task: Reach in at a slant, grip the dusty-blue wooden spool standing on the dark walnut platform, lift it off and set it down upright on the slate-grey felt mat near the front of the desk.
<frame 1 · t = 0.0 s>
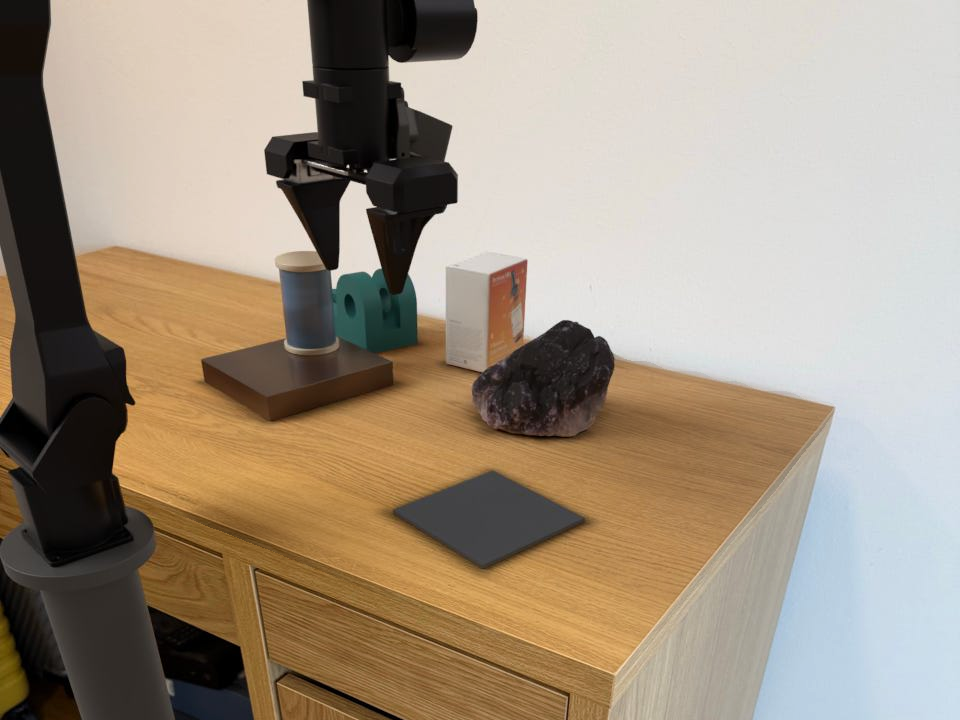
hand: (363, 281, 78), 14 cm above the table, tool pointing down, fingers open, 9 cm apart
bracket: (355, 329, 111), on the table
small box: (484, 361, 103), on the table
felt mat: (488, 517, 74), on the table
platform: (299, 383, 96), on the table
crystal cluster: (541, 416, 91), on the table
spool: (312, 346, 98), point 2 cm above the table, touching platform
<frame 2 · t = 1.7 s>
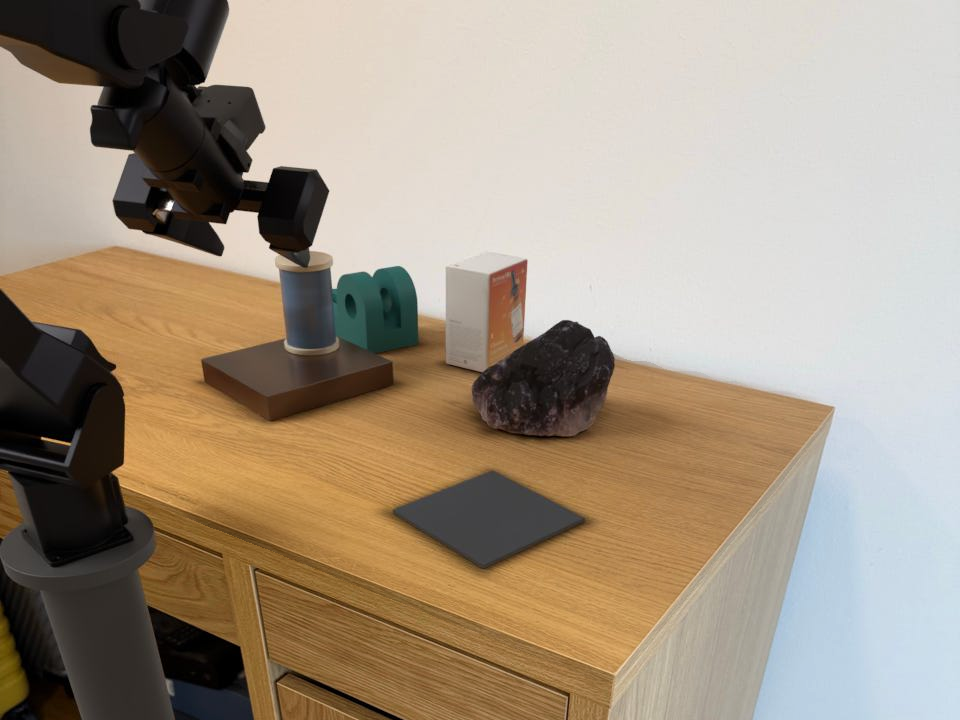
hand: (263, 257, 85), 13 cm above the table, tool tilted 45°, fingers open, 9 cm apart
nothing on the table moved.
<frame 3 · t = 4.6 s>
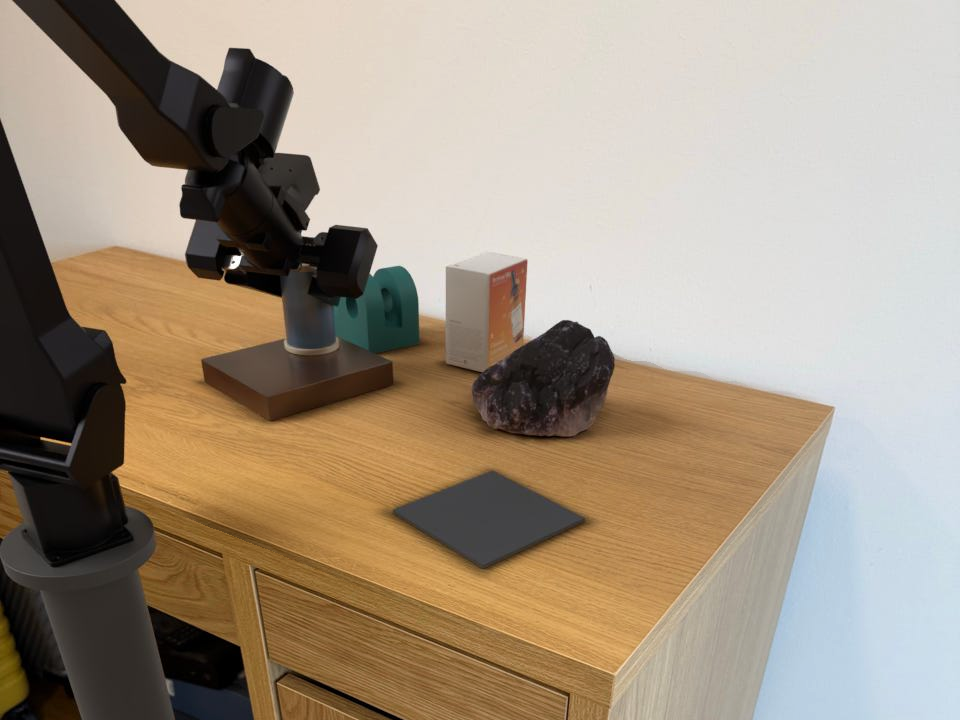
hand: (314, 299, 96), 7 cm above the table, tool tilted 45°, fingers closed on spool, 5 cm apart
spool: (311, 346, 98), point 3 cm above the table, touching gripper, platform
everything else where it was.
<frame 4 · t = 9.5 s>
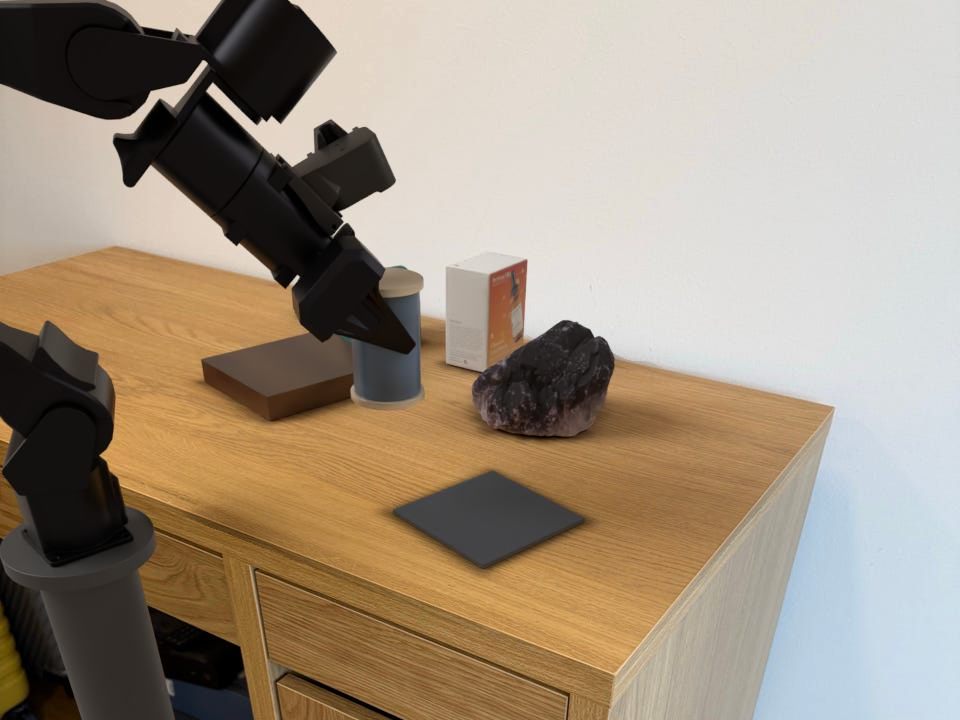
hand: (403, 337, 69), 13 cm above the table, tool tilted 45°, fingers closed on spool, 5 cm apart
spool: (387, 396, 72), point 8 cm above the table, touching gripper
everything else where it was.
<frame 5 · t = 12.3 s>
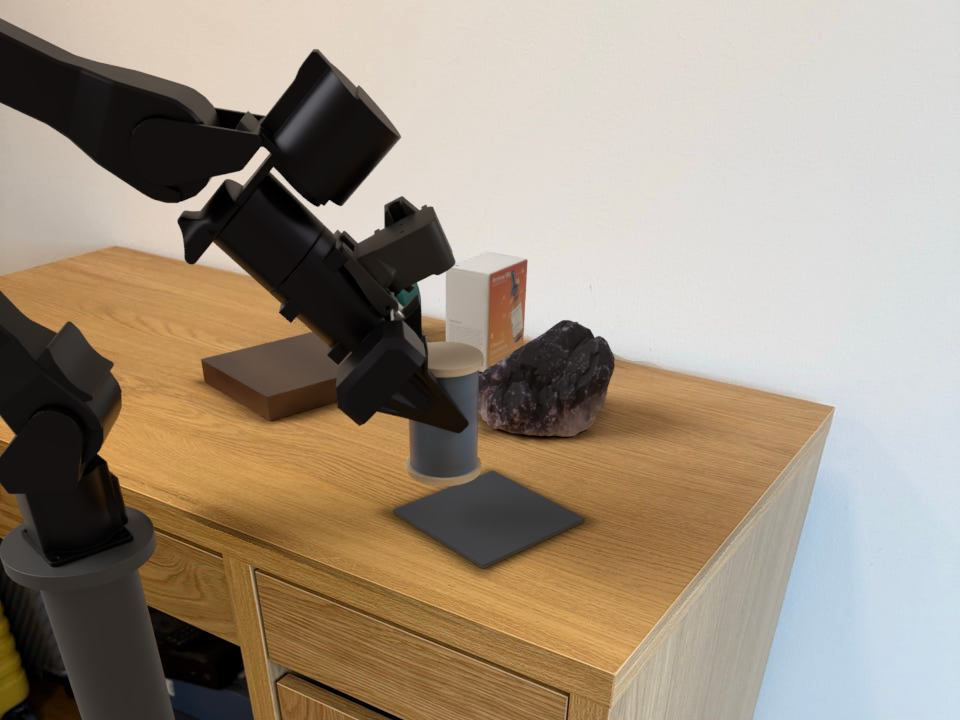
hand: (461, 413, 68), 9 cm above the table, tool tilted 45°, fingers closed on spool, 5 cm apart
spool: (443, 469, 71), point 4 cm above the table, touching gripper
everything else where it was.
when the fingers open (5 cm above the table, at t = 14.3 s): spool stays where it is, resting on felt mat.
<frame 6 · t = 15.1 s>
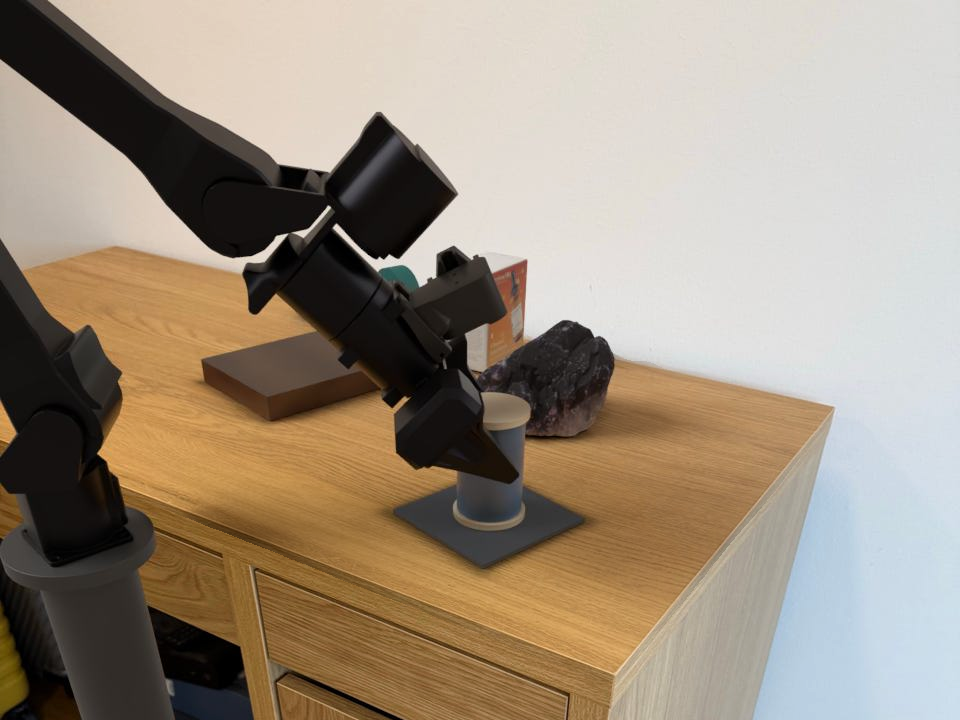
hand: (507, 451, 70), 6 cm above the table, tool tilted 45°, fingers open, 9 cm apart
spool: (488, 513, 73), resting on felt mat
everything else where it was.
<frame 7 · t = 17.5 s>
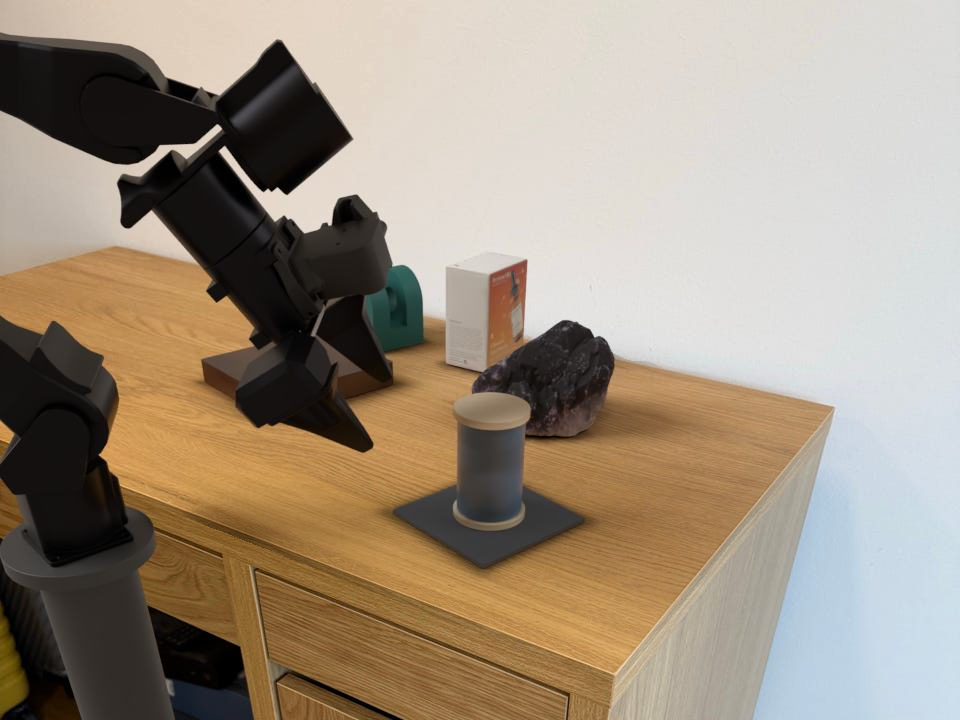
hand: (378, 413, 70), 8 cm above the table, tool tilted 35°, fingers open, 9 cm apart
nothing on the table moved.
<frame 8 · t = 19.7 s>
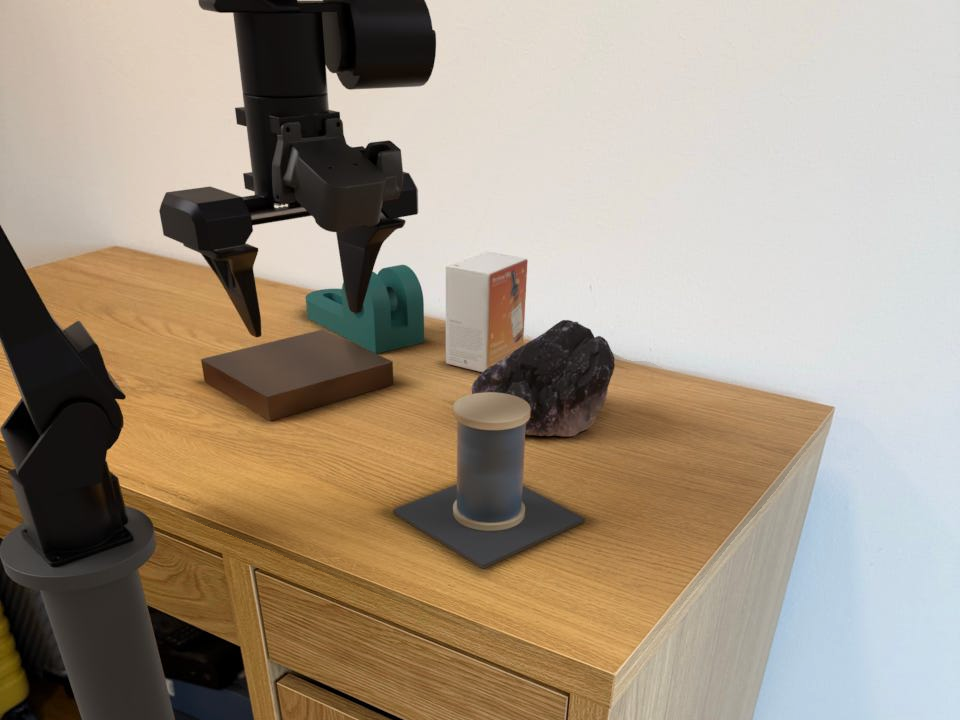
hand: (307, 323, 71), 13 cm above the table, tool pointing down, fingers open, 9 cm apart
nothing on the table moved.
at the end: spool inside the target area on the felt mat (0.0 cm from its centre), point 0.4 cm above the felt mat's base; spool tilted 0°; spool touching felt mat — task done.
